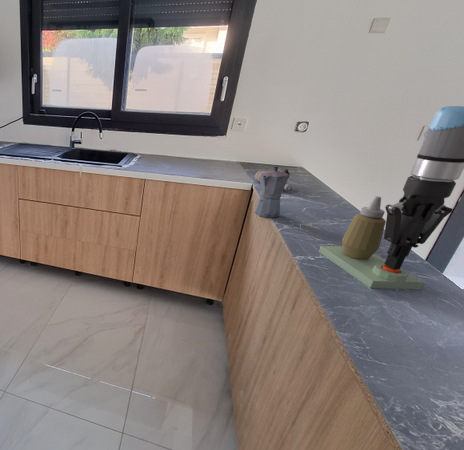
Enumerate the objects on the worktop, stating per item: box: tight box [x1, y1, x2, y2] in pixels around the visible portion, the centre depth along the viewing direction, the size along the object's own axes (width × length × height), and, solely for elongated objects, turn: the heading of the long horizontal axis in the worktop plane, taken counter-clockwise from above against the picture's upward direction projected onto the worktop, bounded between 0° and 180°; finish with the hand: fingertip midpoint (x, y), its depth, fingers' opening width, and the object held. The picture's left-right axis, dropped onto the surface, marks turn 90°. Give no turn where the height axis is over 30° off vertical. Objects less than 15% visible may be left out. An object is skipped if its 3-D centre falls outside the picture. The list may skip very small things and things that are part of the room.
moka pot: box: [254, 166, 291, 219], centre depth 125 cm, size 10×15×20 cm, turn 117°
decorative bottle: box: [254, 169, 293, 191], centre depth 162 cm, size 26×8×7 cm, turn 179°
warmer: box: [318, 245, 425, 290], centre depth 88 cm, size 12×20×4 cm, turn 175°
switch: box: [382, 265, 400, 273], centre depth 81 cm, size 3×3×2 cm
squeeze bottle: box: [341, 196, 386, 259], centre depth 88 cm, size 8×8×18 cm
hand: (391, 266), depth 80 cm, fingers closed
